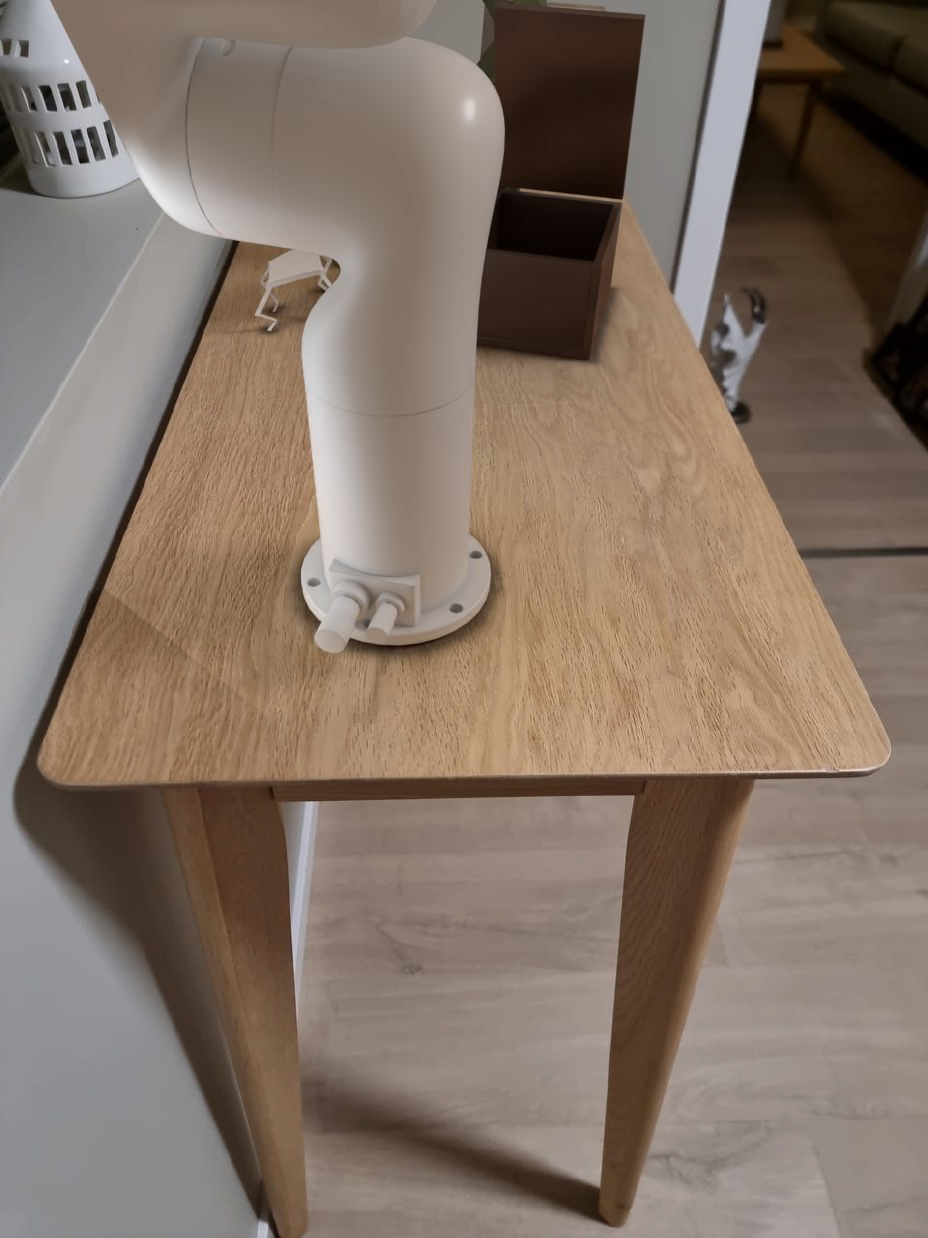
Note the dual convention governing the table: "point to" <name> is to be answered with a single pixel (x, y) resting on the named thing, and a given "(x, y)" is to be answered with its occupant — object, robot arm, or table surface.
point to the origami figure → (291, 274)
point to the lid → (566, 95)
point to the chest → (547, 272)
